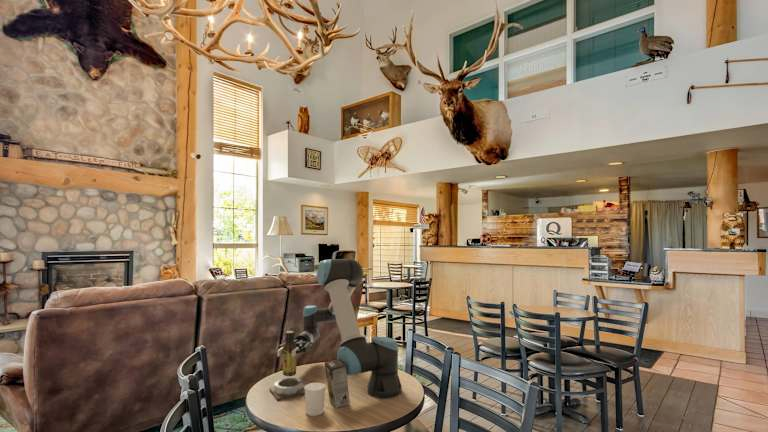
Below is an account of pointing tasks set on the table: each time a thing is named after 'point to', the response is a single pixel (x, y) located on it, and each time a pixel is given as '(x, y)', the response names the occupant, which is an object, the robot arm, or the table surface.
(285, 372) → the sauce bottle
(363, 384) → the table surface
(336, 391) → the coffee box
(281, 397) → the walnut base
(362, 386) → the table surface
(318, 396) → the white cup
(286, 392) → the steel collar
